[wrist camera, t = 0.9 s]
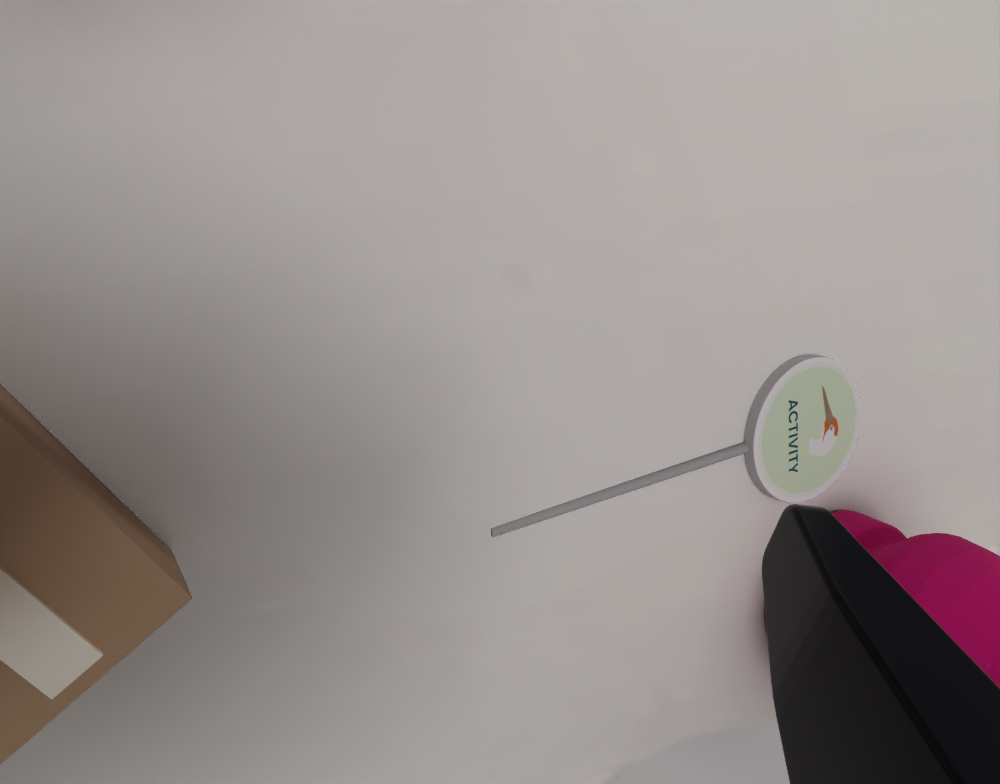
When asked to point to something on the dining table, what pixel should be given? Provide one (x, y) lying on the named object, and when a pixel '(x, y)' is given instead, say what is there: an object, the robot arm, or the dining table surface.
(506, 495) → the dining table surface
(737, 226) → the dining table surface
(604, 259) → the dining table surface
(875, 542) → the pepper mill
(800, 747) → the robot arm
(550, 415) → the dining table surface
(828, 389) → the sign
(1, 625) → the taped shipping box
